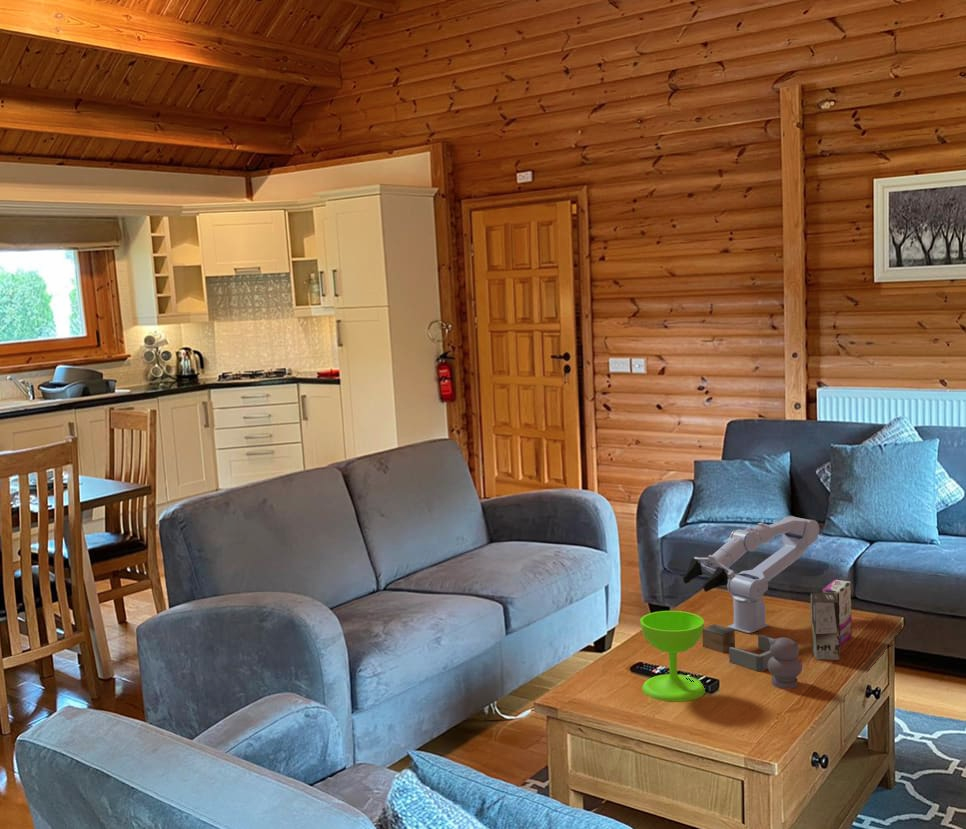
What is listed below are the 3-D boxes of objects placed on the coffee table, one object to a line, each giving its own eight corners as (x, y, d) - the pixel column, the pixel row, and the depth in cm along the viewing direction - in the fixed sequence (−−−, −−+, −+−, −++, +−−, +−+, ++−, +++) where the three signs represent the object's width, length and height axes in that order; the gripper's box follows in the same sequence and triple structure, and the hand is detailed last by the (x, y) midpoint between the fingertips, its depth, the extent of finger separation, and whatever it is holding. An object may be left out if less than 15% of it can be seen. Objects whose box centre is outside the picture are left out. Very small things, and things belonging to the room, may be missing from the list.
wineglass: (630, 683, 252) (628, 616, 250) (683, 672, 258) (681, 607, 256) (663, 706, 237) (660, 635, 235) (718, 694, 243) (716, 624, 241)
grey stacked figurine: (805, 680, 248) (805, 635, 247) (798, 692, 242) (798, 645, 240) (772, 675, 253) (771, 631, 251) (764, 686, 246) (763, 641, 245)
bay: (760, 648, 272) (760, 634, 272) (791, 657, 265) (791, 643, 264) (729, 662, 263) (728, 647, 263) (760, 671, 256) (760, 657, 255)
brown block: (714, 642, 279) (714, 624, 279) (734, 648, 274) (734, 629, 273) (702, 647, 276) (702, 628, 275) (722, 653, 270) (722, 634, 270)
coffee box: (840, 660, 261) (839, 602, 259) (815, 659, 262) (814, 602, 260) (835, 648, 270) (834, 592, 268) (810, 647, 271) (810, 591, 269)
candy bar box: (834, 633, 281) (834, 578, 279) (852, 636, 278) (851, 581, 276) (822, 645, 272) (821, 589, 270) (840, 648, 269) (839, 591, 267)
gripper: (702, 540, 286) (672, 566, 280) (741, 553, 275) (710, 581, 269) (708, 558, 289) (678, 585, 283) (746, 573, 278) (716, 600, 272)
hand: (694, 584), depth 276 cm, fingers open, 7 cm apart
